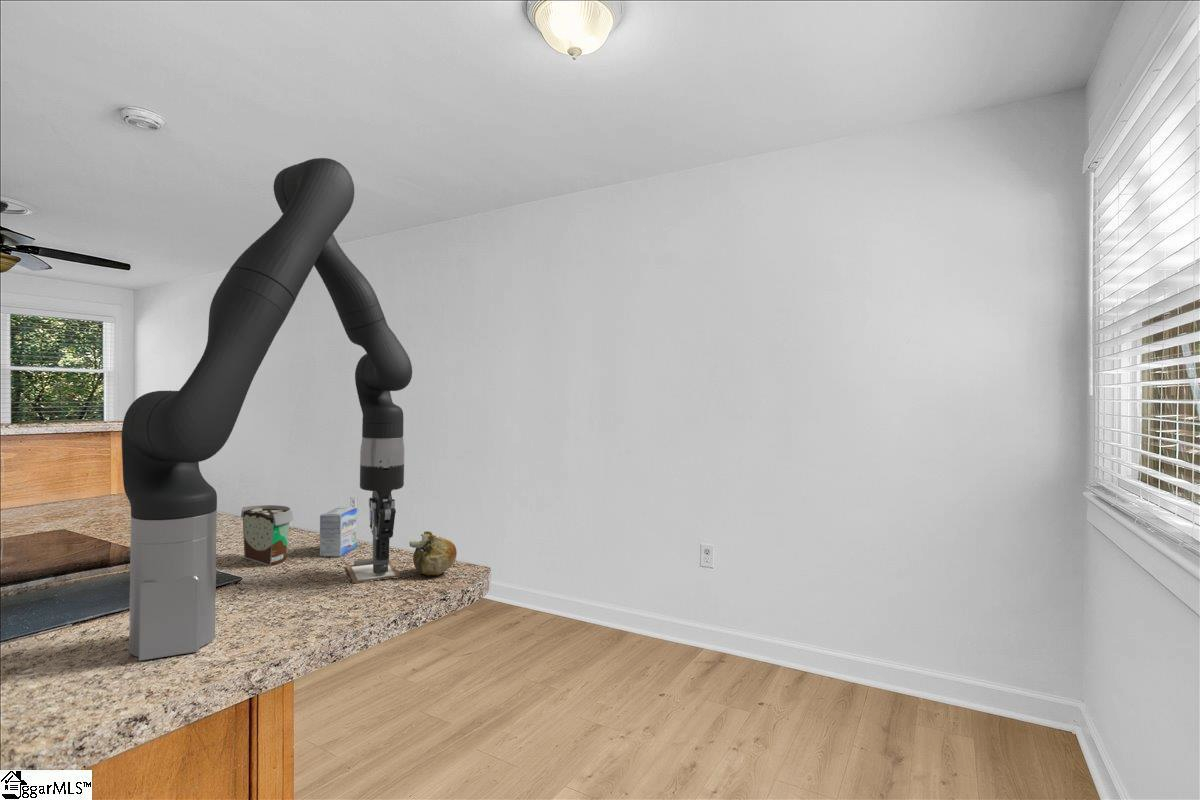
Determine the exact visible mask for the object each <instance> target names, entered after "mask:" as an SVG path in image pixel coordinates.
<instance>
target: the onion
mask: <svg viewBox="0 0 1200 800" xmlns="http://www.w3.org/2000/svg"><path fill="white" fill-rule="evenodd" d="M420 536H421V537H422V538H421V540H410V541H409V542H408V543H409V547H411V548H414V553H413V556H412V563H413V564H414V565H413V566H414V567H415V569H416V570H417V571H418V573H420V574H423V575H425V576H430V575H436V576H439V575H441V574H443V573H444V572H445V573H446V571H447V570H449V569H450V568H451V567H453V565H454V563H455V561H456V560H457V547H456V545H455V544H454V543H453V541H451V540H449V539H446V538H445V537H440V536H437V535H434V534H433V531H429V530H428V531H425V530H424V532H423V533H422V534H420Z"/></svg>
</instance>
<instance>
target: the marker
mask: <svg viewBox="0 0 1200 800" xmlns="http://www.w3.org/2000/svg"><path fill="white" fill-rule="evenodd" d="M377 521H378V522H379V520H377ZM382 531H387V528H383V529H382ZM375 535H376V532H375V526H373V535H372V559H373V573H386V572H388V563H389V561H390V557H389V558H388V559H387V560H380V561H378V560H377V559H376V538H375Z"/></svg>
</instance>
